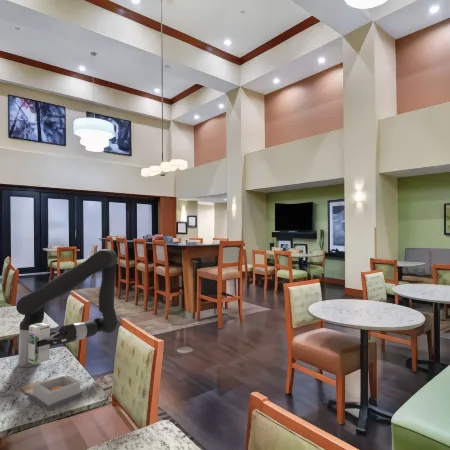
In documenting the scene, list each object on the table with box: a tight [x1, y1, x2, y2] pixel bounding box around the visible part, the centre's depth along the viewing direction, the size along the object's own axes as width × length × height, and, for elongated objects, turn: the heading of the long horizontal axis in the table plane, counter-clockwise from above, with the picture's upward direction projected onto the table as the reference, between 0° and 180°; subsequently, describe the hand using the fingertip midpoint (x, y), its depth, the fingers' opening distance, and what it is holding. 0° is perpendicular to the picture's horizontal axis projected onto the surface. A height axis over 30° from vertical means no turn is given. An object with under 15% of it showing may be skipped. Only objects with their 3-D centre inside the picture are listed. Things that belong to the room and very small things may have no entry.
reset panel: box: [27, 373, 84, 412], centre depth 127 cm, size 16×13×6 cm
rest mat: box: [18, 380, 42, 396], centre depth 134 cm, size 8×8×1 cm
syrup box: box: [28, 322, 51, 365], centre depth 133 cm, size 6×6×14 cm
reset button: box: [49, 386, 64, 391], centre depth 127 cm, size 6×6×2 cm
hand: (32, 342), depth 131 cm, fingers closed on syrup box, 6 cm apart
